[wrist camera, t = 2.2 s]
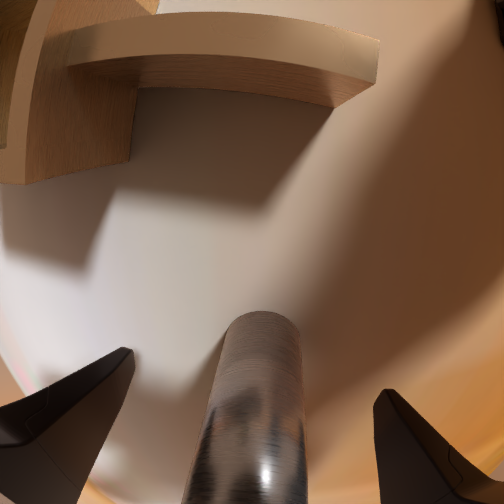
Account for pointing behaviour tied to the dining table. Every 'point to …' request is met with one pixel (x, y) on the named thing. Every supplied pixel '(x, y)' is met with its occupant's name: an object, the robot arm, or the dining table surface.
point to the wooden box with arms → (148, 72)
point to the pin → (253, 419)
